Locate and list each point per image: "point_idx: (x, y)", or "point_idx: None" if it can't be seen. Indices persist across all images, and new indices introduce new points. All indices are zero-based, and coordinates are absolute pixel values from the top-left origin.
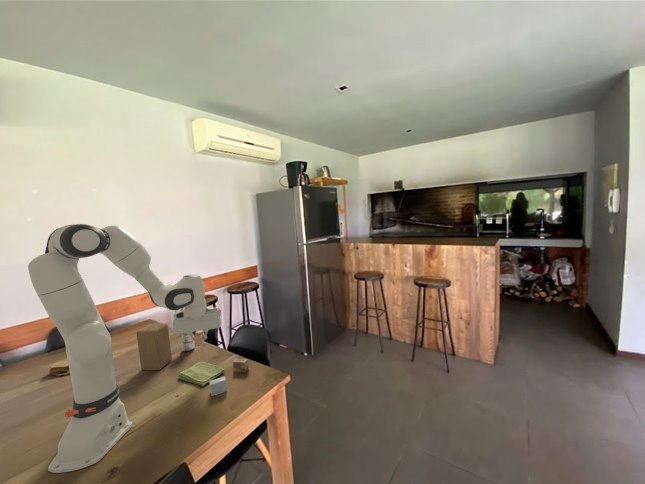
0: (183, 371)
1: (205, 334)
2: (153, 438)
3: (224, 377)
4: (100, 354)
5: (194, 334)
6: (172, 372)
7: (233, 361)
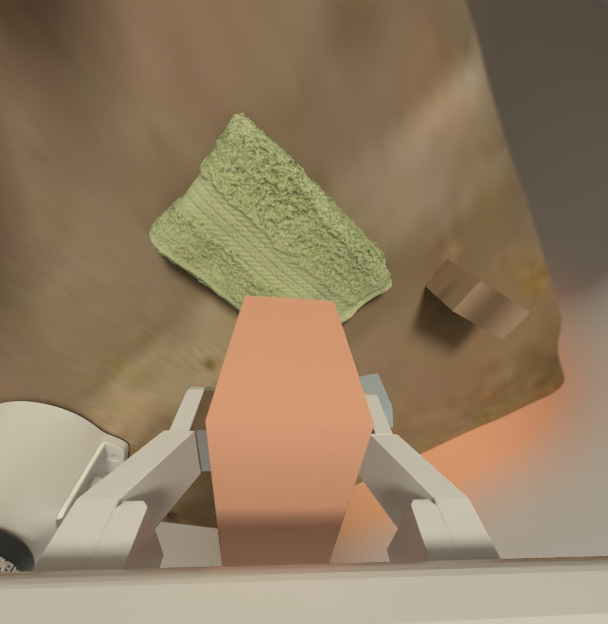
0: (173, 243)
1: (383, 492)
2: (210, 480)
3: (390, 413)
4: None
5: (220, 543)
6: (77, 139)
7: (457, 308)
